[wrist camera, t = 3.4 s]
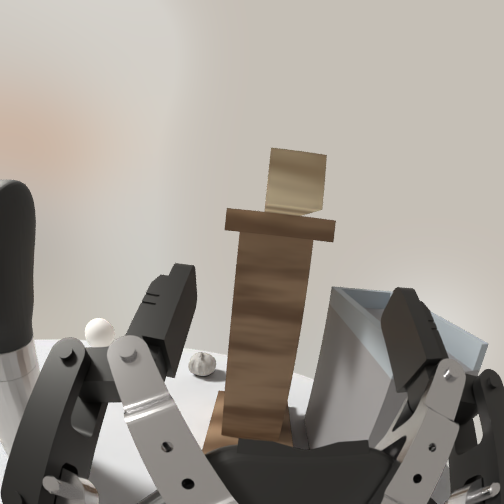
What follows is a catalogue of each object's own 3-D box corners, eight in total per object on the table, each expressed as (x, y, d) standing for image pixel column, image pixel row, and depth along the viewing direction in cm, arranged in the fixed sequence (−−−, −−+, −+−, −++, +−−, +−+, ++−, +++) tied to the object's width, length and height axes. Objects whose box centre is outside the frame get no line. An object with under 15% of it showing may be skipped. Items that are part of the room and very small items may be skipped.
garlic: (199, 383, 50) (200, 360, 50) (182, 371, 54) (183, 349, 53) (221, 374, 55) (223, 353, 55) (204, 364, 58) (205, 343, 58)
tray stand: (399, 509, 19) (488, 343, 17) (322, 522, 19) (400, 348, 17) (358, 419, 41) (393, 291, 39) (304, 419, 41) (331, 286, 39)
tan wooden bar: (322, 209, 16) (326, 155, 15) (265, 202, 16) (271, 147, 15) (285, 220, 41) (288, 198, 41) (264, 217, 42) (266, 195, 41)
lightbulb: (99, 359, 51) (95, 311, 50) (122, 367, 50) (120, 318, 49) (83, 371, 45) (77, 319, 44) (107, 380, 44) (102, 327, 43)
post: (292, 478, 27) (348, 221, 24) (199, 469, 28) (214, 206, 25) (285, 406, 45) (314, 223, 42) (218, 399, 46) (234, 214, 43)
